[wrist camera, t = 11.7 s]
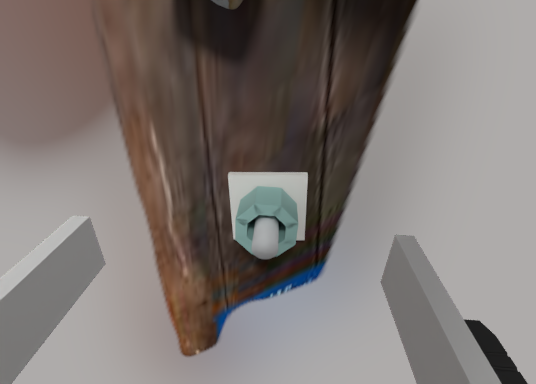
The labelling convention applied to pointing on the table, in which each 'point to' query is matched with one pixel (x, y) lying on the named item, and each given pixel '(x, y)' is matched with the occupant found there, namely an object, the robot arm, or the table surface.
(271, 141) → the table surface
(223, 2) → the ceramic mug
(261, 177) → the plate with round peg
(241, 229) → the ring
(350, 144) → the table surface
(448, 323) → the robot arm
